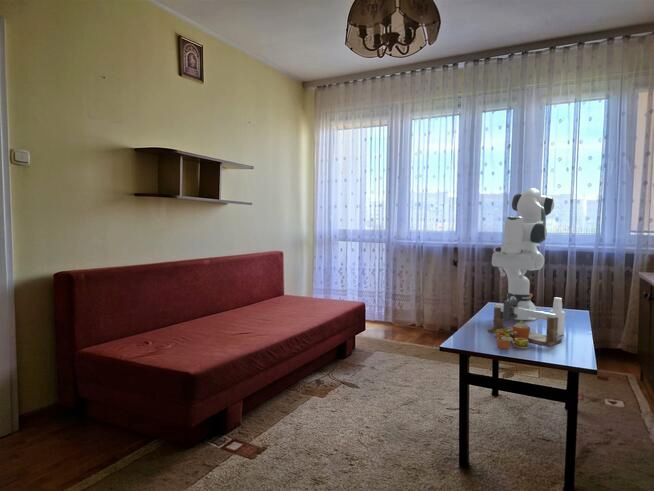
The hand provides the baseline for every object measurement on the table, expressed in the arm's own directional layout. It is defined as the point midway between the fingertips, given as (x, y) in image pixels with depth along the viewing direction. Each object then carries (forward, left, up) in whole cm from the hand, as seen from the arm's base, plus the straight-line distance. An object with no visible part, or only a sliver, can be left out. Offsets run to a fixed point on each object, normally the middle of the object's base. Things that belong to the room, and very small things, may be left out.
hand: (511, 277), depth 206 cm
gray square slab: (0, 0, -21) cm, 21 cm away
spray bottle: (-19, +14, -28) cm, 37 cm away
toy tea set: (+15, +9, -29) cm, 34 cm away
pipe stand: (0, +7, -28) cm, 29 cm away
